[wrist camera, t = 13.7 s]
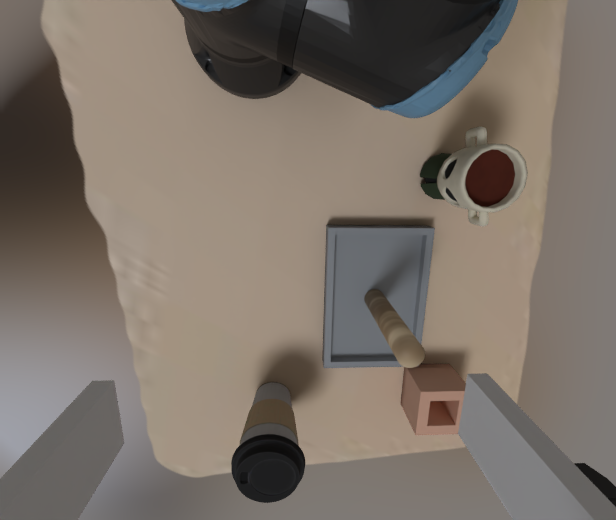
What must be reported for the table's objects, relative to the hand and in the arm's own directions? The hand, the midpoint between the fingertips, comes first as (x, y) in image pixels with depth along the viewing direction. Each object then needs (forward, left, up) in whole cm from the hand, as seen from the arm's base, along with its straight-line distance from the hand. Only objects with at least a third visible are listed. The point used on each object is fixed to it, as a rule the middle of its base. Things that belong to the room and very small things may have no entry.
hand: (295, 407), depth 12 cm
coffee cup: (+28, -3, -37) cm, 46 cm away
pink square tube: (+26, +23, -37) cm, 50 cm away
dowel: (+10, +13, -36) cm, 39 cm away
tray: (+10, +13, -37) cm, 40 cm away
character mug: (-8, +21, -37) cm, 43 cm away
